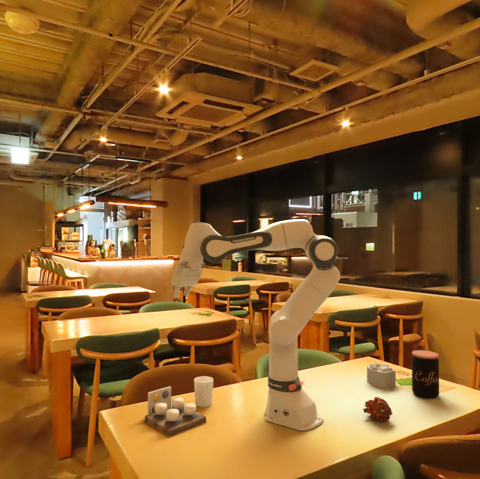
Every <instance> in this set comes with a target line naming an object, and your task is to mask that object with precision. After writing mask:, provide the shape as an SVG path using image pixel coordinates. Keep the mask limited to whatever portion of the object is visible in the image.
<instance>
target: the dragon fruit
mask: <svg viewBox="0 0 480 479" xmlns="http://www.w3.org/2000/svg"><path fill="white" fill-rule="evenodd" d="M364 407H365V408H362V410H363V413H365V414H368V415H370V416H369V417H370V419H371V420H373V421H374V420H376V421H379V422H384V421H389V420H390V419H391V416H392V415H393V412H392V408H391V406H390V404H389V403H388V402H387V400H386V399H384V398H381V397H378V396H375V397H374V399H369V400H366V401H365V403H364Z"/></svg>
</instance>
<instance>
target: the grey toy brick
mask: <svg viewBox="0 0 480 479" xmlns="http://www.w3.org/2000/svg"><path fill="white" fill-rule="evenodd" d="M366 381H367V384H369V385H371V386H373V387H376V388H379V389H390V388H392V387H393V388H394V387H396V384H397V383H396V369H394V368H392V367H391V366H389V364H387V363H383V364H380V363H379V362H375V363H370V364H368V365H367V366H366Z"/></svg>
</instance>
